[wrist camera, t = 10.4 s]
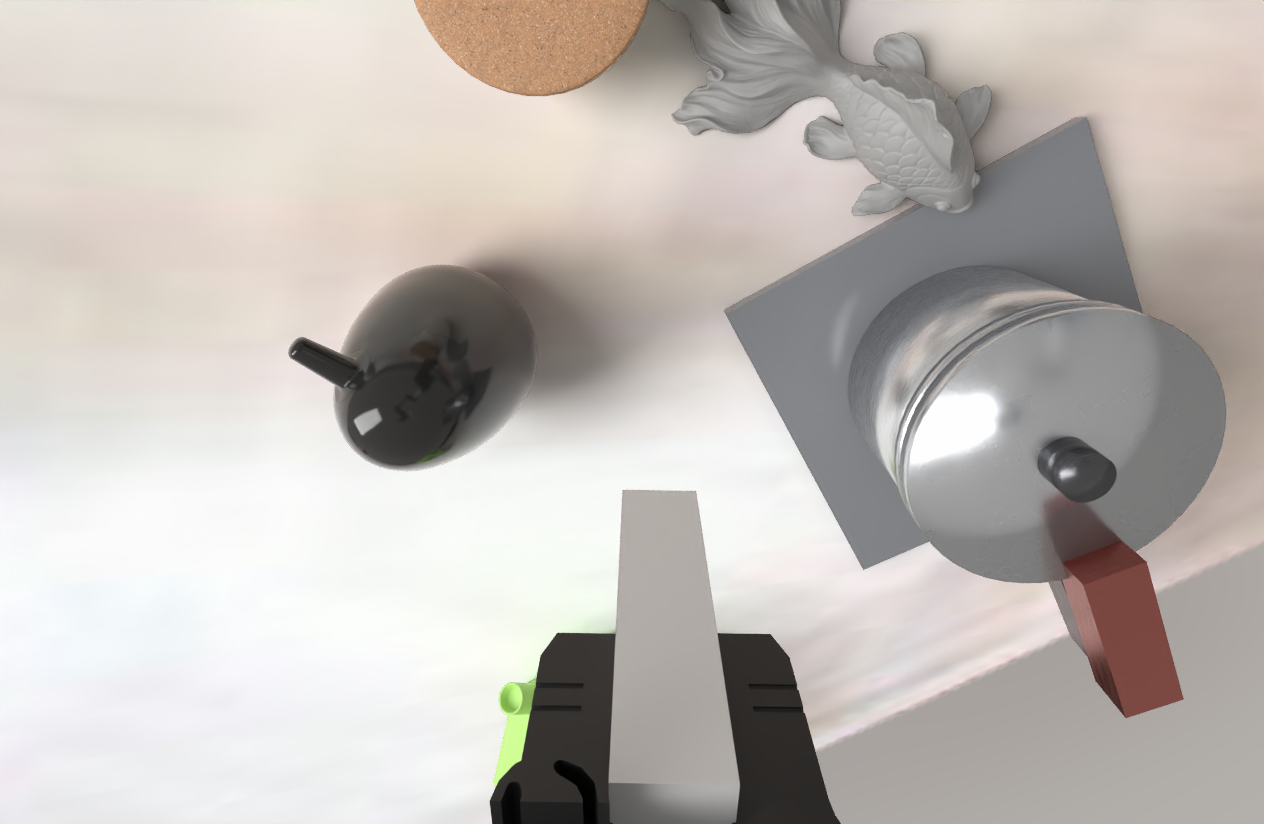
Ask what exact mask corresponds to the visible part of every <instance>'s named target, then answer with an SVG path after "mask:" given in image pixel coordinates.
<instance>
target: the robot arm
mask: <svg viewBox="0 0 1264 824" xmlns="http://www.w3.org/2000/svg"><path fill="white" fill-rule="evenodd" d="M490 807H491V816H492V824H841V823H840V822H839V820H838V819H837V817H836V816H835V814H834V811H833V809H832V807H831V804H830V802H829V799H828V795H827V792H826V788H825V785H824V781H823V777H822V774H821V771H820V766H819V763H818V759H817V756H816V752H815V748H814V745H813V741H812V737H811V734H810V730H809V727H808V723H807V719H806V716H805V713H803V705H802V701H801V698H800V694H799V691H798V690H797V683H796V680H795V676H794V672H793V669H792V665H791V662H790V658H789V657H788V655H787V654H786V653H785V652H784V650H783V649H782V648H781V647H780V645H779V644H778V643H777V642H776V641H775V639H774V638H773V637H772V636H771V634H723V633H717V628H716V621H715V615H714V608H713V601H712V595H711V588H710V581H709V574H708V568H707V561H706V554H705V548H704V541H703V534H702V528H701V521H700V514H699V508H698V501H697V494H696V491H655V490H623V492H622V513H621V534H620V555H619V576H618V597H617V617H616V634H596V633H557V634H556V636H555V637H554V638H553V640H552V641H551V642H550V644H549V645H548V646H547V648H546V649H545V651H544V652H543V653H542V655H541V657H540V662H539V668H538V673H537V678H536V687H535V689H534V694H533V700H532V708H531V711H530V716H529V721H528V727H527V732H526V737H525V743H524V748H523V754H522V759H521V761H519V762H517V763H515V764H514V765H513V766H512V767H511V768H510V769H509V770H508V771H507V772H506V773H505V774H504V775H503V777H502V778H501V779H500V780H499V781H498V783H497V786H496V788H495V790H494V793H493V795H492V797H491V800H490Z"/></svg>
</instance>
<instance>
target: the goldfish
mask: <svg viewBox="0 0 1264 824" xmlns="http://www.w3.org/2000/svg"><path fill="white" fill-rule="evenodd" d="M659 1H660V2H661V3H662V4H664V5H665V6H667V7H668V8H669V9H670V10H672V11H675V12H676V11H677V12H680V13H682V14H684V15H685V16H686V17H687V19H688V21H689V23H690V25H691V34H690V38H691V43H692V47H693V52H694V53H695V55H696V56H697V58H698V59H699V60H700V61H701V62H703V63H705V64H707V65H710V66H711V69H710V70H709V71H707V85H706V86H702V87H698V88H696V89H695V90H694V91H692V92H691V93H690V94H689V95H688V96H687V97H686V98H685V99H684V101H683V104H682V106H681V108H680V109H678V110H677V111H676V112H675V113H673V114H672V118H673V120H674V121H675V122H676V123H678V124H684V125H686V126H687V127H688V129H689V131H690V133H691V134H692V135H698V134H699V133H700V132H701V131H703V130H706V129H717V130H720V131H722V132H727V133H733V134H739V133H749V132H753V131H755V130H758V129H760V128H761V127H763V126H765V125H766V124H767V123H769V122H770V121H772V120H773V119H774V118H776V117H777V116H778V115H780V114H781V113H782V112H783V111H784V110H786V109H787V108H788V107H790V106H791V105H793V104H794V103H796V102H798V101H800V100H802V99H805V98H808V97H813V96H824V97H827V98H828V99H830V100H831V101H832V102H833V103H834V105H835V107H836V108H837V110H838V112H839V114H840V117H841V119H842V122H843V126H840V125H838V124H836V123H834V122H832V121H830V120H828V119H827V118H825V117H823V116H820V117H819V118H817V120H815V121H811V122H810V123H809V124H808V125H807V126H806V128H805V132H804V139H803V143H804V145H806V146H807V147H808V150H809V152H810V153H812V154H813V155H815V156H817V157H821V158H824V159H829V160H838V159H846V158H851V157H858V158H859V160H860V161H861V162H862V163H863V164H864V167H865V168H866V169H867V170H868V171H869V172H870V173H871V174H872V175H874V176H875V177H876V178H877V179H878V180H880V182H881V183H877V184H873V185H870V186H868V187H866V188H865V190H864V191H863V192H862V193H861V194H860V197H859V198H858V200H857V201H856V203H855V205H854V206H853V207H852V214H853V215H854V216H863V215H869V214H879V213H884V212H888V211H890V210H891V209H893V208H894V207H896V206H897V205H898V204H900V203H901V202H902V201H903V200H904V199H906V198H907V197H908V198H910V199H912V200H913V201H915V202H917V203H920V204H922V205H925V206H927V207H930V208H934V209H937V210H939V211H942V212H949V213H960V212H963V211H965V210H967V209H969V208H970V207H971V205H972V203H973V189H974V188H975V187H976V185H978V184H979V182H980V180H981V178H980V176H979V175H978V174H977V173H976V172H975V159H974V155H973V153H972V149H971V145H970V142H969V140H970V139H971V138H972V137H973V136H974V135H975V134H976V133H977V131H978V130H979V129H980V127H981V126H982V124H983V123H984V121H985V119H986V116H987V114H988V112H989V109H990V104H991V98H992V92H991V90H990V88H989V87H988V86H987V85H984V86H982V87H980V88H978V87H974V88H972V89H970V90H968V91H966V92H964V93H962V94H961V95H960V96H959V97H958V99H957V101H956V104H954V102H953V100H952V99H951V98H950V97H949V96H948V94H947V93H946V92H945V90H942V88H941V87H940V86H939V85H938V84H937V83H936V82H934V81H931V80H930V79H928V78H925V61H924V56H923V53H922V50H921V48H920V45H919V43H918V42H917V40H916V39H915V38H913V37H912V36H910V35H908V34H906V33H898V34H891V35H887V36H885V37H884V38H881V39H879V40H878V42H877V43H876V44H875V46H874V52H873V53H874V56H875V59H876V61H877V62H879V63H880V64H883V65H885V66H886V67H876V66H866V65H859V64H855V63H851V62H849V61H847V60H845V59H844V58H843V57H842V56H841V54H840V52H839V49H838V33H839V23H840V14H841V4H840V0H723V1H724V2H725V4H726V5H727V7H728V9H729V11H730V14H726V13H724V12H723V11H721V9H720V8H719V7H718V6H717V5H716V4H715V3H714V2H712V1H711V0H659Z"/></svg>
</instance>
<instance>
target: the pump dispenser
mask: <svg viewBox="0 0 1264 824" xmlns="http://www.w3.org/2000/svg"><path fill="white" fill-rule="evenodd" d="M288 354H289V357H290V358H291V359H293V360H294V361H296V362H298V363H299V364H301V365H303V366H304V367H306V368H308V369H309V370H311V371H312V372H314V373H316V374H317V375H319V376H321V377H322V378H324V379H326V380H327V381H329V382H331V383H332V384H334V395H333V401H334V411H335V416H336V420H337V423H338V426H339V429H340V431H341V433H342V435H343V437H344V439H345V440H346V442H347V443H348V444H349V446H350V447H351V448H352V449H353V450H354V451H355V452H356V453H357V454H358V455H359V456H360V457H362V458H363V459H365V460H366V461H368V462H370V463H372V464H374V465H376V466H379V467H381V468H385V469H389V470H395V471H418V470H424V469H429V468H433V467H436V466H439V465H443V464H445V463H448V462H451V461H453V460H455V459H458V458H460V457H462V456H464V455H466V454H468V453H470V452H471V451H473V450H475V449H477V448H478V447H480V446H481V445H483V444H484V443H485V442H487V441H488V440H489V439H490V438H492V437H493V436H494V435H495V434H496V433H497V432H498V431H500V430H501V429H502V427H503V426H504V425H505V424H506V423H507V422H508V421H509V420H510V419H511V418H512V416H513V415H514V414H515V413H516V411H517V410H518V409H519V407H520V406H521V405H522V403H523V401H524V400H525V398H526V396H527V394H528V392H529V390H530V388H531V385H532V383H533V380H534V376H535V372H536V366H537V346H536V340H535V335H534V332H533V329H532V326H531V324H530V321H529V319H528V317H527V315H526V314H525V312H524V310H523V309H522V307H521V306H520V304H519V303H518V302H517V301H516V300H515V298H514V297H513V296H512V295H511V294H510V293H509V292H508V291H507V290H506V289H505V288H503V287H502V286H501V285H499V284H498V283H497V282H495V281H494V280H492V279H491V278H489V277H487V276H485V275H483V274H481V273H479V272H476V271H474V270H471V269H467V268H464V267H459V266H453V265H430V266H424V267H420V268H416V269H413V270H411V271H408V272H406V273H404V274H402V275H400V276H398V277H396V278H395V279H393V280H392V281H390V282H389V283H388V284H386V285H385V286H384V287H383V288H381V289H380V290H379V291H378V292H377V293H376V294H375V295H374V296H373V297H372V299H371V300H370V301H369V302H368V303H367V305H366V306H365V307H364V308H363V310H362V311H361V312H360V314H359V315H358V317H357V318H356V320H355V321H354V323H353V325H352V326H351V328H350V330H349V332H348V334H347V336H346V338H345V341H344V343H343V346H342V349H341V352H340V353H338V352H336V351H334V350H332V349H329V348H327V347H325V346H323V345H320V344H318V343H316V342H314V341H311V340H309V339H307V338H304V337H300V338H297V339H296V340H295V341H294V342H293V343H292V344H291V346H290V348H289V352H288Z"/></svg>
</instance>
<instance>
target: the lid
mask: <svg viewBox="0 0 1264 824" xmlns="http://www.w3.org/2000/svg"><path fill="white" fill-rule="evenodd" d="M1225 421H1226V406H1225V396H1224V391H1223V388H1222V384H1221V381H1220V377H1219V375H1218V373H1217V371H1216V369H1215V367H1214V365H1213V363H1212V361H1211V360H1210V359H1209V357H1208V356H1207V355H1206V353H1205V352H1204V351H1203V349H1202V348H1201V347H1200V346H1199V345H1198V344H1197V343H1196V342H1194V341H1193V340H1192V339H1191V338H1190V337H1189V336H1188V335H1186V334H1185V333H1183V332H1182V331H1180V330H1178V329H1177V328H1175V327H1174V326H1172V325H1170V324H1167V323H1165V322H1163V321H1160V320H1158V319H1155V318H1153V317H1150V316H1148V315H1145V314H1143V313H1140V312H1137V311H1134V310H1130V309H1126V308H1123V307H1119V306H1112V305H1103V304H1072V305H1066V306H1059V307H1052V308H1049V309H1045V310H1041V311H1037V312H1034V313H1030V314H1028V315H1025V316H1022V317H1020V318H1017V319H1015V320H1012V321H1010V322H1008V323H1006V324H1004V325H1002V326H1000V327H998V328H996V329H994V330H992V331H990V332H989V333H987V334H986V335H984V336H983V337H981V338H980V339H978V340H977V341H975V342H973V343H972V344H970V345H969V346H968V347H967V348H966V349H964V350H963V351H962V352H961V353H960V354H958V355H957V356H956V357H955V358H954V359H953V360H952V361H951V362H950V363H949V364H948V365H947V366H946V367H945V368H944V369H943V370H942V371H941V372H940V373H939V374H938V375H937V377H936V378H935V379H934V380H933V382H932V383H931V384H930V386H929V387H928V388H927V389H926V391H925V392H924V394H923V396H922V397H921V399H920V401H919V402H918V404H917V406H916V407H915V410H914V412H913V414H912V416H911V419H910V421H909V423H908V425H907V429H906V432H905V436H904V439H903V442H902V449H901V456H900V480H901V486H902V492H903V495H904V498H905V501H906V504H907V507H908V509H909V511H910V513H911V515H912V516H913V518H914V520H915V522H916V523H917V525H918V526H919V527H920V529H921V530H922V532H923V533H924V535H925V536H926V537H927V539H928V540H929V541H930V543H931V544H932V545H933V546H934V547H935V548H936V549H937V550H938V551H939V552H940V553H941V554H942V555H943V556H945V557H946V558H947V559H949V560H950V561H952V562H953V563H955V564H956V565H958V566H960V567H962V568H964V569H966V570H968V571H970V572H972V573H975V574H978V575H980V576H983V577H986V578H990V579H995V580H1000V581H1005V582H1016V583H1043V582H1051V581H1059V580H1062V582H1063V585H1064V588H1065V591H1066V594H1067V597H1068V600H1069V603H1070V606H1071V609H1072V612H1073V615H1074V618H1075V620H1076V623H1077V626H1078V629H1079V632H1080V635H1081V638H1082V641H1083V644H1084V647H1085V650H1086V653H1087V656H1088V659H1089V662H1090V665H1091V668H1092V671H1093V674H1094V677H1095V680H1096V682H1097V683H1098V685H1099V686H1100V687H1101V688H1102V689H1103V691H1104V692H1105V693H1106V694H1107V695H1108V697H1109V698H1110V699H1111V701H1112V702H1113V703H1114V704H1115V705H1116V706H1117V708H1118V709H1119V710H1120V712H1121V713H1122V714H1123V715H1124V717H1125V718H1128V717H1131V716H1134V715H1137V714H1140V713H1143V712H1146V711H1149V710H1152V709H1155V708H1158V707H1161V706H1165V705H1168V704H1171V703H1173V702H1177V701H1180V700H1183V695H1182V692H1181V689H1180V684H1179V680H1178V677H1177V673H1176V670H1175V666H1174V662H1173V659H1172V655H1171V651H1170V647H1169V643H1168V640H1167V636H1166V632H1165V629H1164V625H1163V621H1162V618H1161V614H1160V610H1159V607H1158V603H1157V599H1156V595H1155V591H1154V588H1153V584H1152V580H1151V577H1150V573H1149V569H1148V566H1147V562H1146V561H1145V560H1144V559H1143V558H1141V557H1140V556H1139V555H1138V554H1137V553H1136V551H1137V550H1139V549H1140V548H1142V547H1144V546H1145V545H1147V544H1148V543H1150V542H1151V541H1152V540H1154V539H1155V538H1156V537H1157V536H1159V535H1160V534H1161V533H1162V532H1164V531H1165V530H1166V529H1167V528H1168V527H1169V526H1170V525H1171V524H1172V523H1173V522H1174V521H1176V520H1177V519H1178V518H1179V517H1180V516H1181V515H1182V514H1183V512H1184V511H1185V510H1186V509H1187V508H1188V506H1189V505H1190V504H1191V503H1192V502H1193V500H1194V499H1195V498H1196V496H1197V495H1198V493H1199V492H1200V490H1201V489H1202V487H1203V486H1204V484H1205V483H1206V481H1207V479H1208V477H1209V475H1210V473H1211V471H1212V469H1213V467H1214V465H1215V463H1216V460H1217V457H1218V455H1219V452H1220V449H1221V446H1222V441H1223V436H1224V432H1225Z"/></svg>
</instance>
